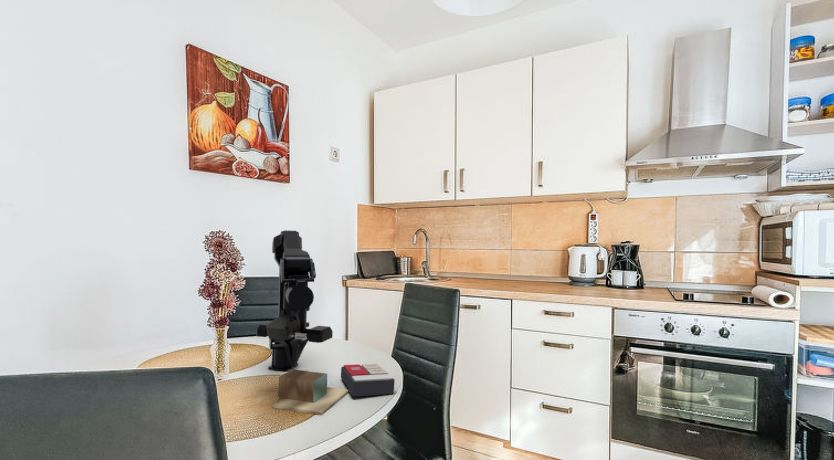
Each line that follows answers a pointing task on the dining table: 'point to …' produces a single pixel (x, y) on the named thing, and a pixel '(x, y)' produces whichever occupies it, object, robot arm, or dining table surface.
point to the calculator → (367, 380)
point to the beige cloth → (313, 408)
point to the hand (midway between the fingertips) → (293, 365)
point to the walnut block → (302, 385)
